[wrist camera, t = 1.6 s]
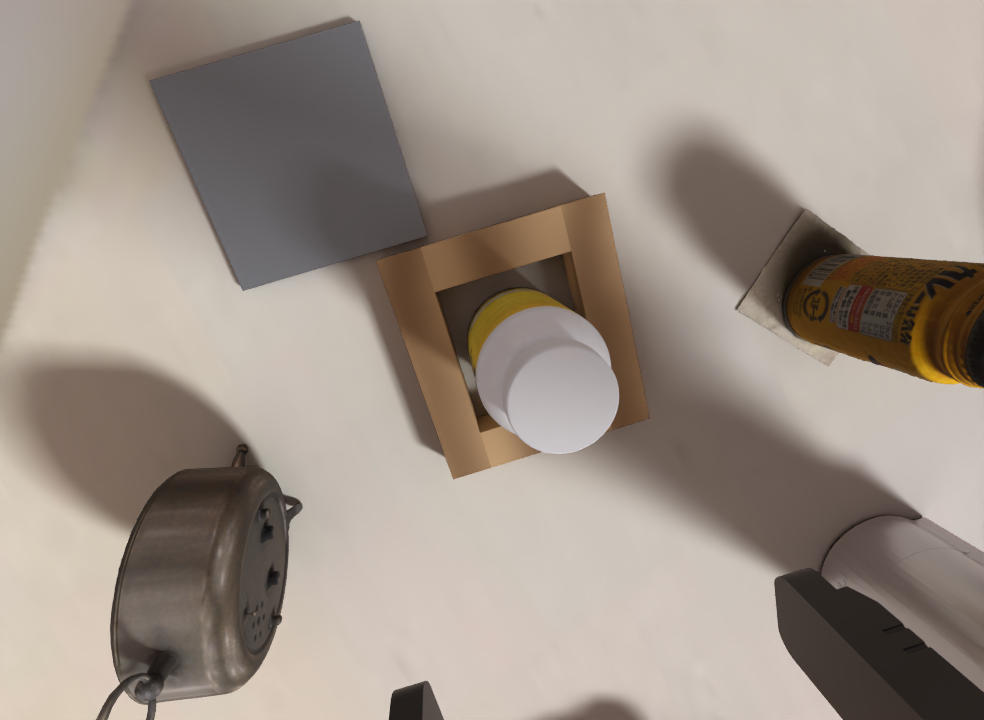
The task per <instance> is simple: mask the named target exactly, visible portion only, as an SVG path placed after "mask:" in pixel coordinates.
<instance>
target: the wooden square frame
mask: <svg viewBox="0 0 984 720" xmlns="http://www.w3.org/2000/svg"><path fill="white" fill-rule="evenodd" d="M560 254H562V257H563V261H564V265H565V269H566V274H567V278H568V282H569V286H570V291H571V295H572V299H573V304H574V308H575V312H576V313H577V314H578V315H580V316H581V317H583V318H584V319H586V320H587V321H588V322H589V323H591V324H592V325H593V326H594V327H595V329H596V330H597V331H598V332H599V334H600V335H601V337H602V338H603V340H604V342H605V344H606V346H607V349H608V352H609V355H610V360H611V369H612V371H613V372H614V374H615V377H616V379H617V382H618V387H619V404H618V409H617V412H616V415H615V418H614V420H613V422H612V423H611V425H610V427H609V428H608V429H607V431H610V430H614V429H617V428H620V427H623V426H626V425H630V424H633V423H636V422H639V421H643V420H646V419H649V413H648V408H647V403H646V398H645V393H644V388H643V383H642V378H641V373H640V368H639V363H638V358H637V353H636V348H635V343H634V338H633V333H632V328H631V323H630V318H629V313H628V308H627V303H626V298H625V293H624V288H623V283H622V278H621V273H620V268H619V263H618V258H617V253H616V248H615V243H614V238H613V233H612V228H611V223H610V218H609V213H608V208H607V203H606V198H605V193H602V194H598V195H593V196H589V197H586V198H582V199H579V200H576V201H572V202H569V203H566V204H562V205H559V206H556V207H552V208H549V209H546V210H542V211H539V212H536V213H532V214H529V215H526V216H522V217H519V218H516V219H512V220H509V221H506V222H502V223H499V224H496V225H492V226H489V227H485V228H482V229H479V230H475V231H472V232H469V233H465V234H462V235H459V236H455V237H452V238H449V239H445V240H442V241H439V242H435V243H432V244H429V245H425V246H422V247H419V248H415V249H412V250H409V251H405V252H402V253H399V254H395V255H392V256H389V257H385V258H382V259H380V260H378V261H376V262H377V265H378V268H379V271H380V273H381V276H382V279H383V282H384V285H385V288H386V290H387V293H388V296H389V299H390V302H391V305H392V307H393V310H394V313H395V316H396V319H397V322H398V324H399V327H400V330H401V333H402V336H403V339H404V341H405V344H406V347H407V350H408V353H409V355H410V358H411V361H412V364H413V367H414V370H415V372H416V375H417V378H418V381H419V384H420V387H421V389H422V392H423V395H424V398H425V401H426V404H427V406H428V409H429V412H430V415H431V418H432V421H433V423H434V426H435V429H436V432H437V435H438V438H439V440H440V443H441V446H442V449H443V452H444V455H445V457H446V460H447V463H448V466H449V469H450V472H451V474H452V477H453V479H456V478H459V477H463V476H466V475H469V474H472V473H475V472H479V471H482V470H485V469H488V468H491V467H495V466H498V465H501V464H504V463H508V462H511V461H514V460H517V459H520V458H524V457H527V456H530V455H533V454H536V453H540V452H541V451H539V450H536V449H534V448H532V447H530V446H529V445H527V444H526V443H524V442H523V441H522V440H521V439H520V438H519V437H518V436H517V435H516V434H514V433H512V432H510V431H508V430H506V429H505V428H503V427H502V426H501V425H499V424H498V423H497V422H496V421H495V420H494V419H493V418H492V417H491V416H490V414H488V415H484V416H481V417H478V418H477V415H476V412H475V409H474V406H473V403H472V400H471V397H470V394H469V391H468V387H467V384H466V381H465V378H464V375H463V372H462V369H461V366H460V362H459V359H458V356H457V353H456V350H455V347H454V344H453V341H452V338H451V334H450V331H449V328H448V325H447V322H446V319H445V316H444V313H443V310H442V306H441V303H440V300H439V297H438V294H437V291H441V290H444V289H447V288H450V287H454V286H457V285H460V284H464V283H467V282H470V281H474V280H477V279H480V278H484V277H487V276H490V275H494V274H497V273H500V272H504V271H507V270H510V269H513V268H517V267H520V266H523V265H527V264H530V263H533V262H537V261H540V260H543V259H547V258H550V257H553V256H557V255H560ZM607 431H606V432H607Z"/></svg>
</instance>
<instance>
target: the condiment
mask: <svg viewBox="0 0 984 720" xmlns="http://www.w3.org/2000/svg"><path fill="white" fill-rule="evenodd" d="M824 250H826V252H824ZM777 292H778V293H779V297H777V296H776V293H777ZM778 299H780V302H779V303H778ZM737 310H738V311H739V312H741V313H743V314H744V315H746V316H748V317H749V318H751V319H752V320H754V321H756V322H757V323H759V324H761V325H762V326H764V327H766V328H767V329H769V330H770V331H772V332H773V333H775V334H777V335H778V336H780V337H781V338H783V339H785V340H786V341H788V342H789V343H791V344H793V345H794V346H796V347H797V348H799V349H801V350H802V351H804V352H805V353H807V354H809V355H810V356H812V357H814V358H815V359H817V360H818V361H820V362H822V363H823V364H825V365H827V366H829V365H830V364H831V362H832V361H833V360H834V358H835V357H836V355H837V354H838V353H839V352H840V353H843V354H846V355H848V356H851V357H854V358H857V359H861V360H863V361H869V362H872V363H874V364H876V365H881V366H885V367H888V368H891V369H894V370H897V371H901V372H903V373H907V374H909V375H911V376H916V377H918V378H921V379H924V380H927V381H930V382H936V383H942V384H958V383H962V384H964V385H966V386H969V387H975V388H984V263H968V262H955V261H946V260H945V261H938V260H923V259H913V258H896V257H880V256H872V255H869V254H867V253H866V252H865V251H863V250H862V249H861V248H859V247H858V246H856V245H855V244H854V243H853V242H852V241H850V240H849V239H848V238H847V237H845V236H844V235H842V234H841V233H839V232H838V231H836V230H835V229H834V228H832V227H830V226H829V225H828V224H827V223H825V222H824V221H823V220H822V219H820V218H819V217H818V216H817V215H815V214H813V213H812V212H811V211H809V210H808V209H805V211H804V212H803V213H802V215H801V216H800V218H799V219H798V221H797V222H796V223H795V224H794V225H793V227H792V228H791V230H790V231H789V232H788V234H787V235H786V237H785V238H784V240H783V242H782V243H781V244H780V245H779V247H778V248H777V250H776V251H775V253H774V254H773V256H772V257H771V259H770V260H769V262H768V263H767V265H766V266H765V267H764V268H763V269H762V272H761V274H760V276H759V277H758V279H757V280H756V282H755V283H754V285H753V286H752V287H751V289H750V290H749V292H748V293H747V295H746V297H745V299H744V300H743V302H742V303H741V305H740V306H739V308H738V309H737Z"/></svg>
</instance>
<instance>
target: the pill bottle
mask: <svg viewBox="0 0 984 720" xmlns="http://www.w3.org/2000/svg"><path fill="white" fill-rule="evenodd" d="M467 343H468V351H469V356H470V360H471V364H472V368H473V373H474V376H475V380H476V385H477V389H478V393H479V396H480V398H481V401H482V403H483V405H484V407H485V409H486V410H487V412H488V413H489V414H490V416H491V417H492V418H493V419H494V420H495V421H496V422H497V423H498V424H499V425H501V426H502V427H503V428H505V429H506V430H508V431H510V432H512V433H514V434H516V435H517V436H518V437H519V438H520V439H521V440H522V441H523V442H524V443H526V444H527V445H529V446H530V447H532V448H534V449H536V450H539V451H541V452H545V453H551V454H565V453H571V452H575V451H578V450H581V449H583V448H585V447H587V446H589V445H591V444H592V443H594V442H595V441H597V440H598V439H599V438H600V437H601V436H602V435H603V434H604V433H605V432H606V431H607V429H608V428H609V427H610V425H611V423H612V422H613V420H614V418H615V415H616V412H617V409H618V404H619V387H618V382H617V379H616V377H615V374H614V372H613V371H612V369H611V360H610V355H609V352H608V349H607V346H606V344H605V342H604V340H603V338H602V337H601V335H600V334H599V332H598V331H597V330H596V329H595V327H594V326H593V325H592V324H591V323H589V322H588V321H587V320H586V319H584V318H583V317H581V316H580V315H578V314H577V313H575V312H574V311H572V310H571V309H569V308H567V307H566V306H564V305H563V304H561V303H559V302H558V301H556V300H554V299H553V298H551V297H550V296H548V295H546V294H545V293H543V292H540V291H538V290H535V289H531V288H524V287H516V288H509V289H505V290H502V291H500V292H497V293H496V294H494V295H492V296H490V297H489V298H488V299H486V300H485V301H484V302H483V303H482V304H481V305H480V306H479V308H478V309H477V310H476V312H475V314H474V315H473V317H472V319H471V322H470V325H469V329H468V335H467Z"/></svg>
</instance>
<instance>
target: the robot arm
mask: <svg viewBox="0 0 984 720" xmlns="http://www.w3.org/2000/svg"><path fill="white" fill-rule="evenodd" d="M774 584H775V596H776V607H777V618H778V628H779V632H780V635H781V638H782V640H783V642H784V645H785V646H786V648H787V650H788V652H789V653H790V655H791V656H792V658H793V659H794V660H795V662H796V663H797V664H798V665H799V667H800V668H801V669H802V670H803V671H804V673H805V674H806V675H807V676H808V678H809V679H810V680H811V681H812V682H813V684H814V685H815V686H816V687H817V688H818V690H819V691H820V692H821V693H822V695H823V696H824V697H825V698H826V699H827V701H828V702H829V703H830V704H831V706H832V707H833V708H834V709H835V710H836V712H837V713H838V714H839V715H840V717H841V718H842V719H843V720H984V552H982V551H981V550H979V549H977V548H976V547H974V546H972V545H971V544H969V543H967V542H965V541H964V540H962V539H960V538H959V537H957V536H955V535H954V534H952V533H950V532H949V531H947V530H945V529H944V528H942V527H940V526H939V525H937V524H935V523H934V522H932V521H930V520H929V519H927V518H921V519H918V520H910V519H907V518H904V517H901V516H891V515H889V516H881V517H876V518H873V519H870V520H867V521H865V522H863V523H861V524H859V525H857V526H855V527H853V528H852V529H851V530H849V531H848V532H846V533H845V534H844V535H843V536H842V537H841V538H840V539H839V540H838V541H837V542H836V543H835V544H834V546H833V547H832V549H831V550H830V551H829V553H828V555H827V557H826V559H825V561H824V564H823V568H822V571H821V575H820V574H819V573H818V572H817V571H815V570H813V569H811V568H806V569H803V570H799V571H796V572H793V573H789V574H786V575H783V576H779V577H777V578H776V579H775V582H774ZM389 720H444V719H443V716H442V714H441V711H440V709H439V706H438V704H437V701H436V699H435V696H434V694H433V691H432V688H431V686H430V684H429V682H428V681H424V682H421V683H417V684H414V685H411V686H407V687H404V688H401V689H397V690H395V691H394V692H393V693H392V697H391V704H390V714H389Z"/></svg>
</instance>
